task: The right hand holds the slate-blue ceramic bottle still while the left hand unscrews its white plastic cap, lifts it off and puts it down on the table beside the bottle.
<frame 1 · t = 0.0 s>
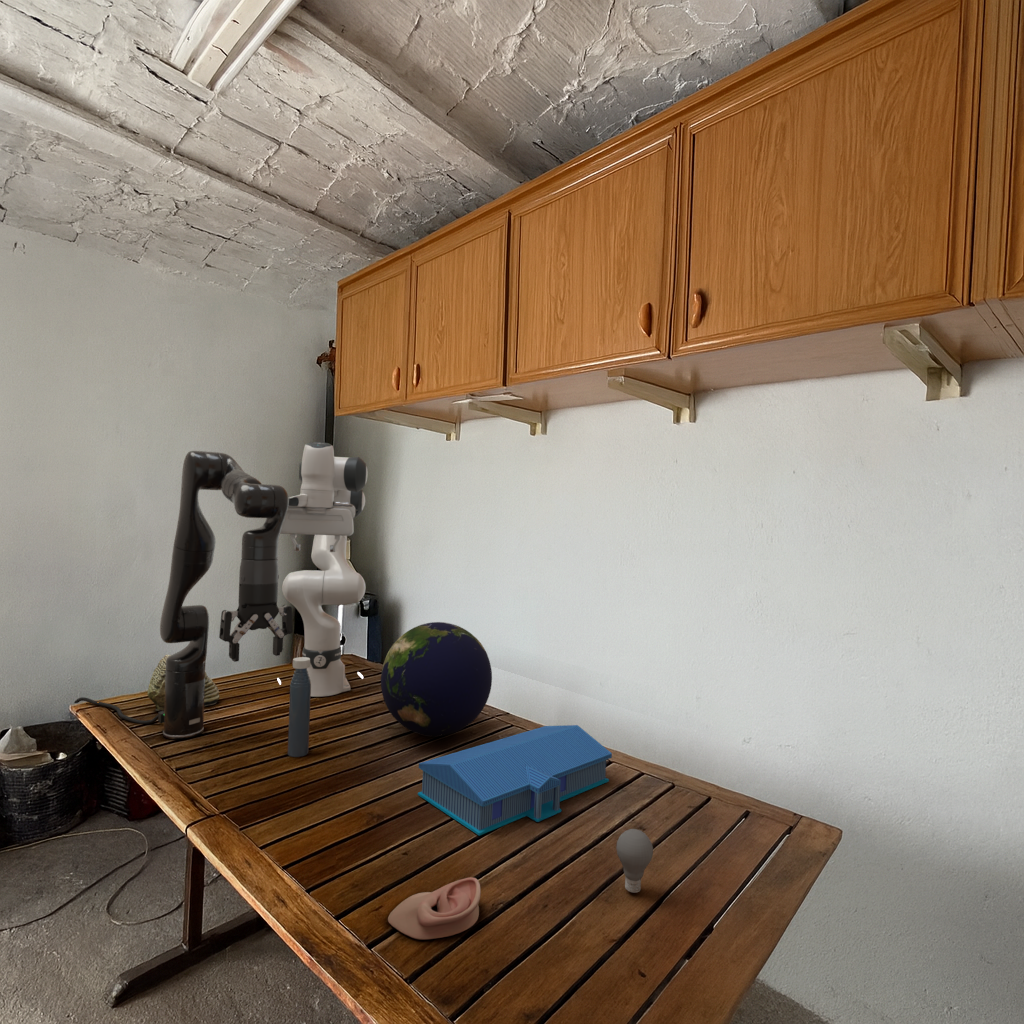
left hand: (256, 657, 132), 29 cm above the table, tool pointing down, fingers open, 8 cm apart
right hand: (315, 551, 174), 48 cm above the table, tool pointing down, fingers open, 8 cm apart
globe: (434, 733, 172), on the table
light bulb: (632, 891, 106), on the table
model building: (521, 790, 141), on the table
fossil: (183, 706, 185), on the table
bottle: (298, 753, 156), on the table
cap: (301, 660, 155), point 23 cm above the table, screwed on, not yet turned
anatomical model: (434, 916, 97), on the table
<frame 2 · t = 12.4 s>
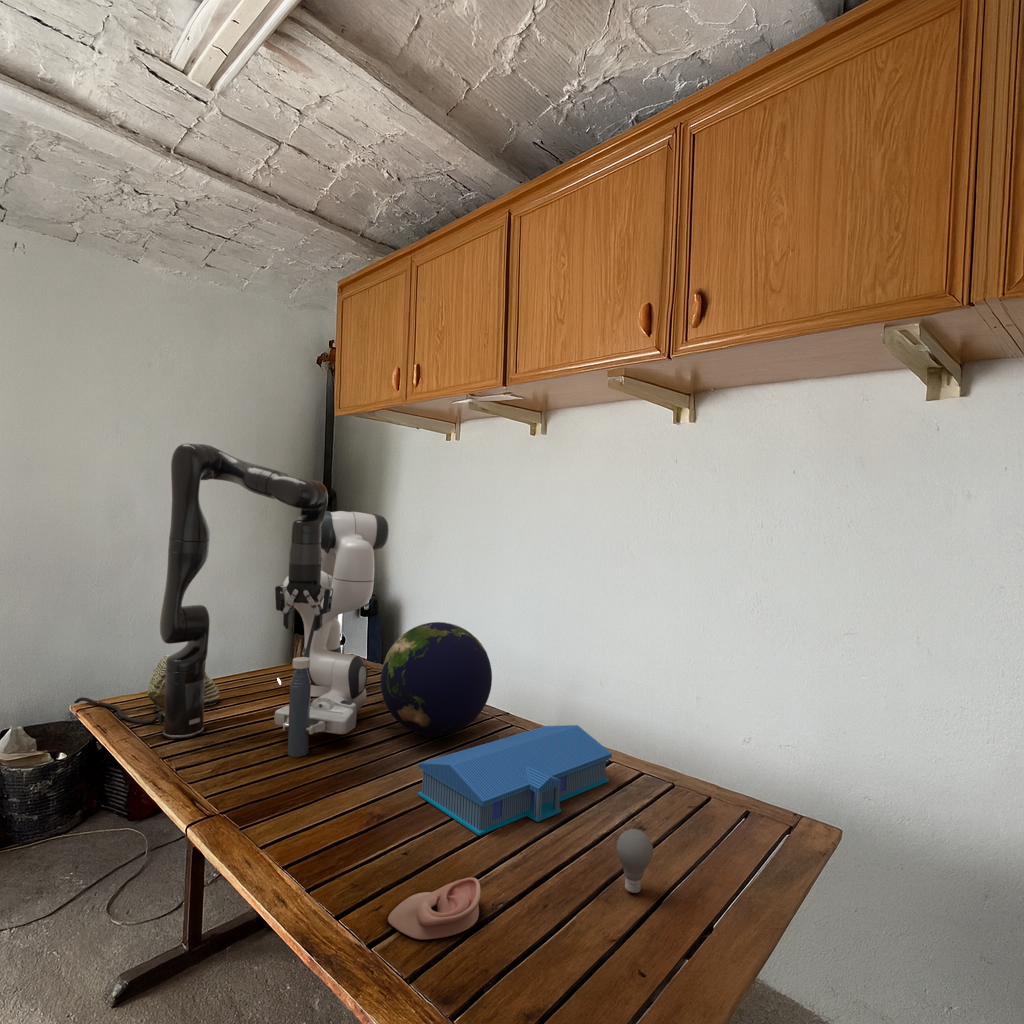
left hand: (302, 629, 155), 31 cm above the table, tool pointing down, fingers open, 6 cm apart
right hand: (296, 729, 155), 6 cm above the table, tool horizontal, fingers closed on bottle, 5 cm apart
bottle: (298, 753, 156), on the table, touching right hand
everything else where it was.
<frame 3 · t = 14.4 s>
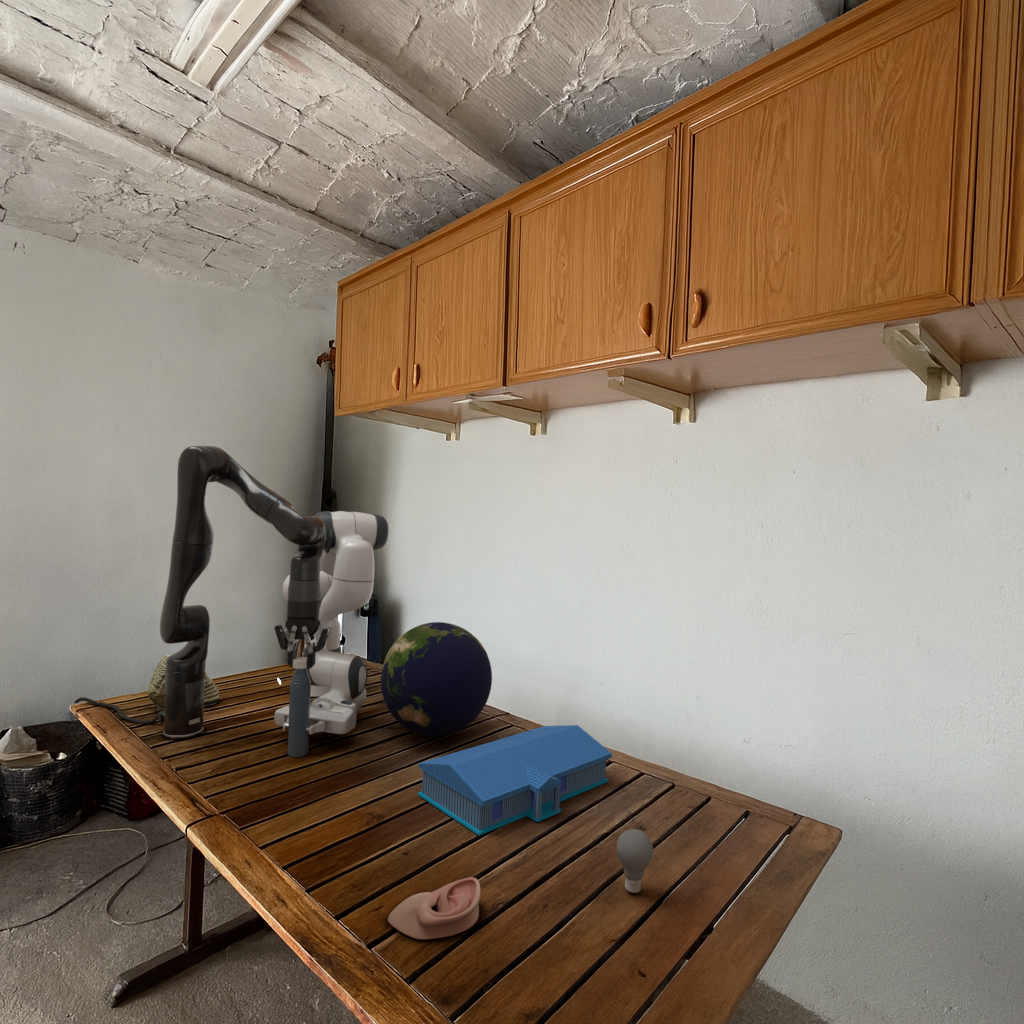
left hand: (301, 666, 155), 21 cm above the table, tool pointing down, fingers closed on cap, 3 cm apart
right hand: (296, 729, 155), 6 cm above the table, tool horizontal, fingers closed on bottle, 5 cm apart
bottle: (298, 753, 156), on the table, touching right hand
cap: (301, 660, 155), point 23 cm above the table, screwed on, not yet turned, touching left hand
everything else where it was.
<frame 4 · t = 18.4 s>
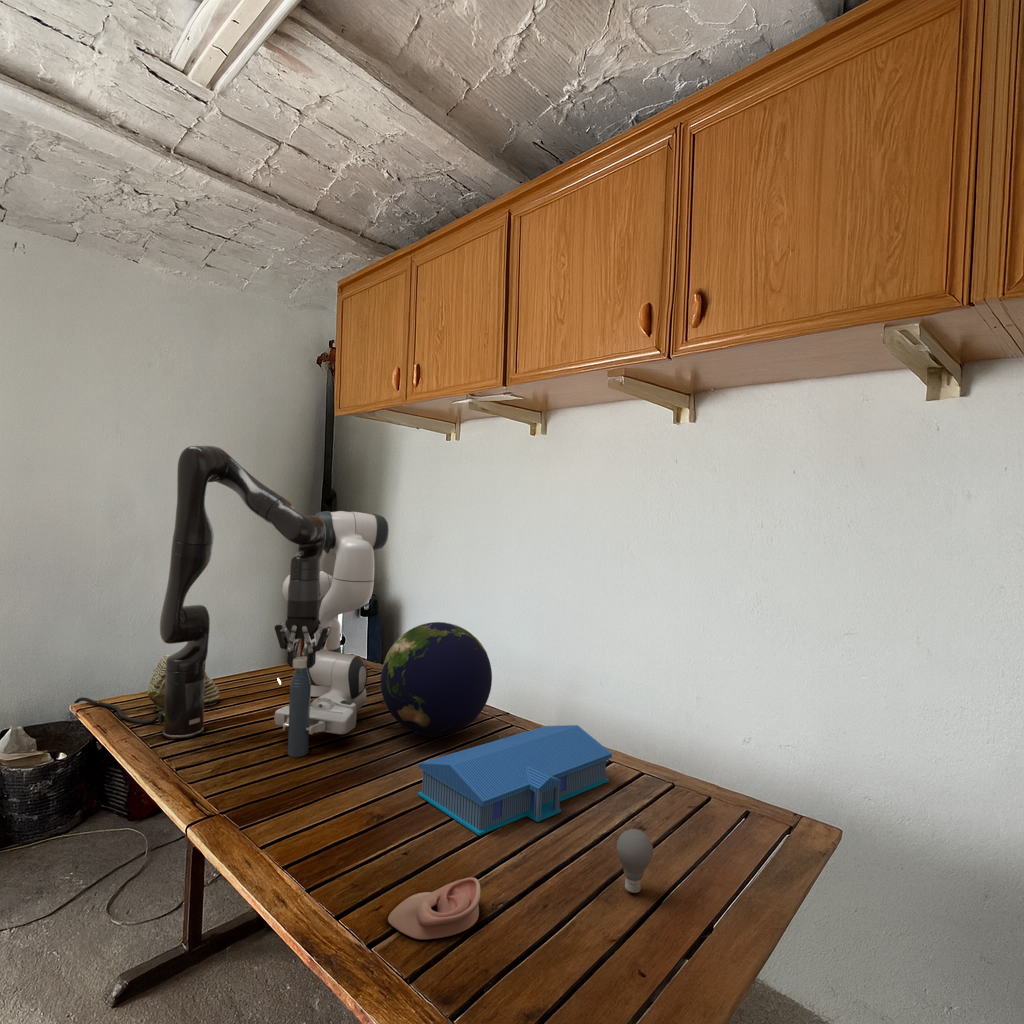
left hand: (301, 666, 155), 21 cm above the table, tool pointing down, fingers closed on cap, 3 cm apart
right hand: (297, 729, 155), 6 cm above the table, tool horizontal, fingers closed on bottle, 5 cm apart
bottle: (298, 753, 156), on the table, touching right hand
cap: (301, 659, 155), point 23 cm above the table, turned 96° so far, risen 0.1 cm, still on its thread, touching left hand
everything else where it was.
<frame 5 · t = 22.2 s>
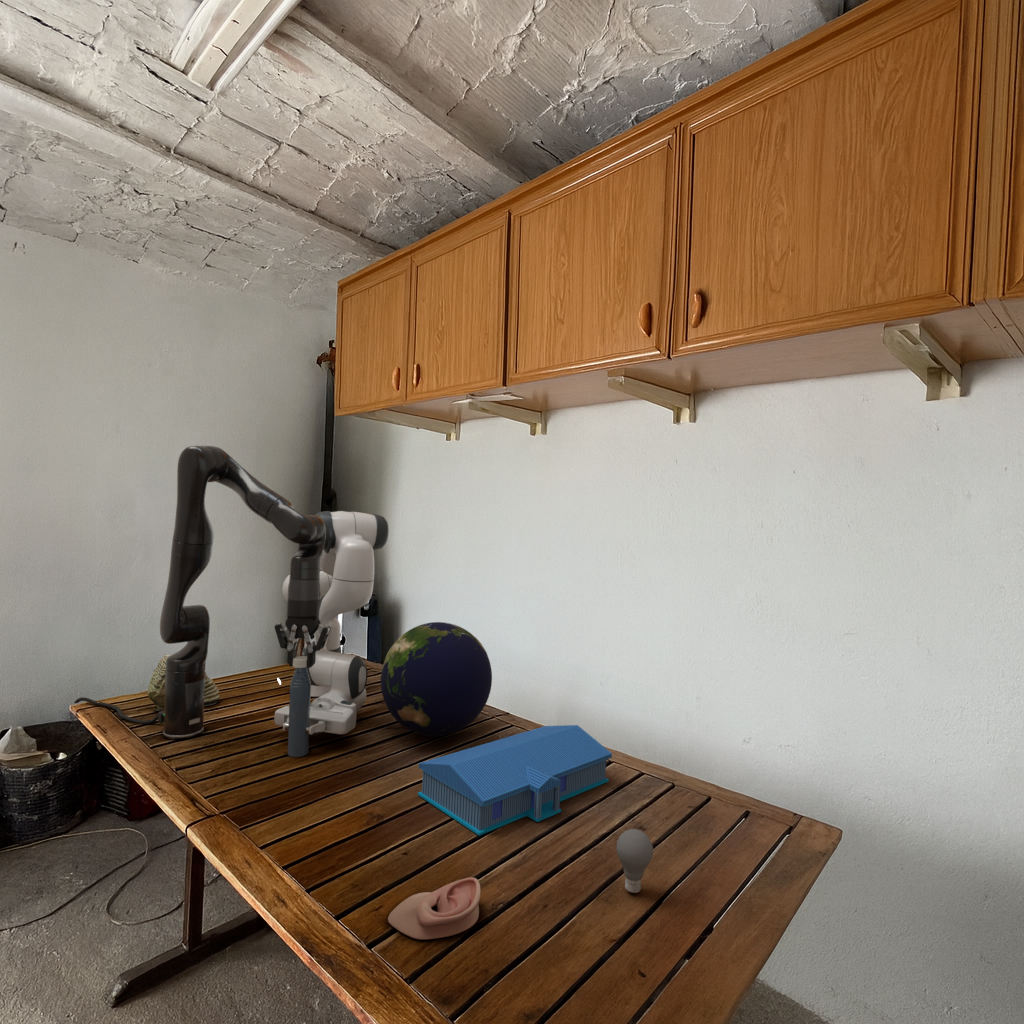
left hand: (301, 666, 155), 22 cm above the table, tool pointing down, fingers closed on cap, 3 cm apart
right hand: (296, 729, 155), 6 cm above the table, tool horizontal, fingers closed on bottle, 5 cm apart
bottle: (298, 753, 156), on the table, touching right hand
cap: (301, 659, 155), point 23 cm above the table, turned 191° so far, risen 0.2 cm, still on its thread, touching left hand
everything else where it was.
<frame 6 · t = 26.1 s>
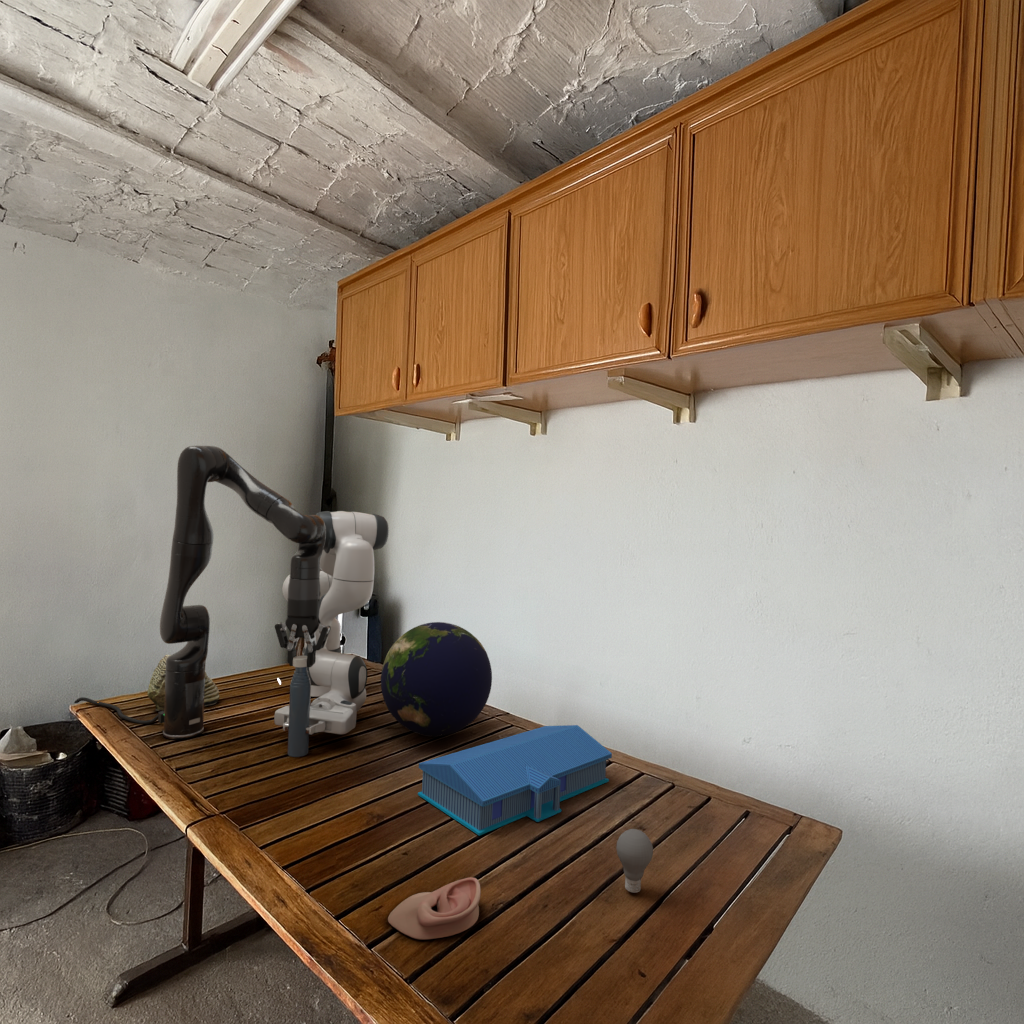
left hand: (301, 665, 155), 22 cm above the table, tool pointing down, fingers closed on cap, 3 cm apart
right hand: (296, 729, 155), 6 cm above the table, tool horizontal, fingers closed on bottle, 5 cm apart
bottle: (298, 753, 156), on the table, touching right hand
cap: (301, 658, 155), point 23 cm above the table, turned 287° so far, risen 0.3 cm, still on its thread, touching left hand
everything else where it was.
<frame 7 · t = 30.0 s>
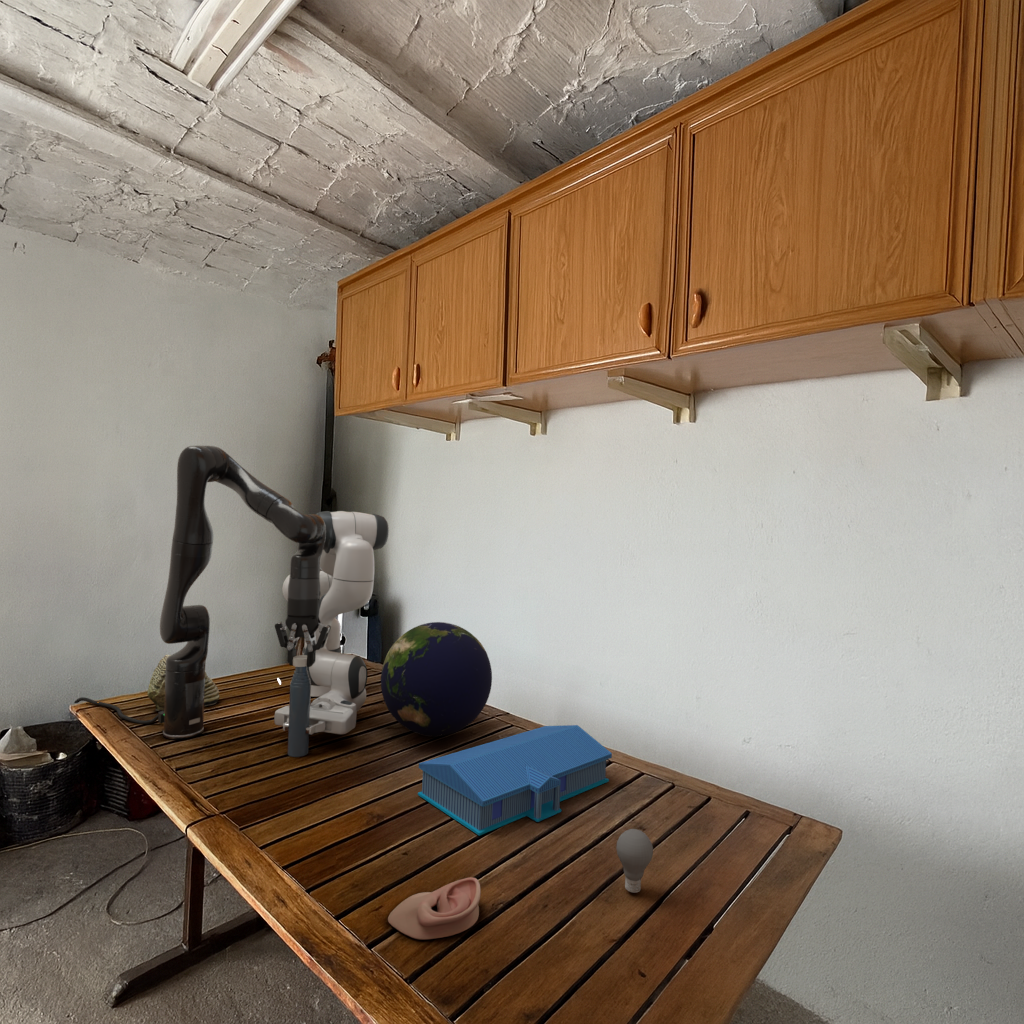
left hand: (301, 665, 155), 22 cm above the table, tool pointing down, fingers closed on cap, 3 cm apart
right hand: (296, 729, 155), 6 cm above the table, tool horizontal, fingers closed on bottle, 5 cm apart
bottle: (298, 752, 156), on the table, touching right hand
cap: (301, 658, 155), point 23 cm above the table, turned 383° so far, risen 0.5 cm, still on its thread, touching left hand
everything else where it was.
when the left hand's fingers open (1 cm above the table, at t = 37.0 s): cap drops 1 cm, point 2 cm above the table.
when the right hand's fingers open (6 cm above the table, at t = 38.1 s): bottle stays where it is, on the table.
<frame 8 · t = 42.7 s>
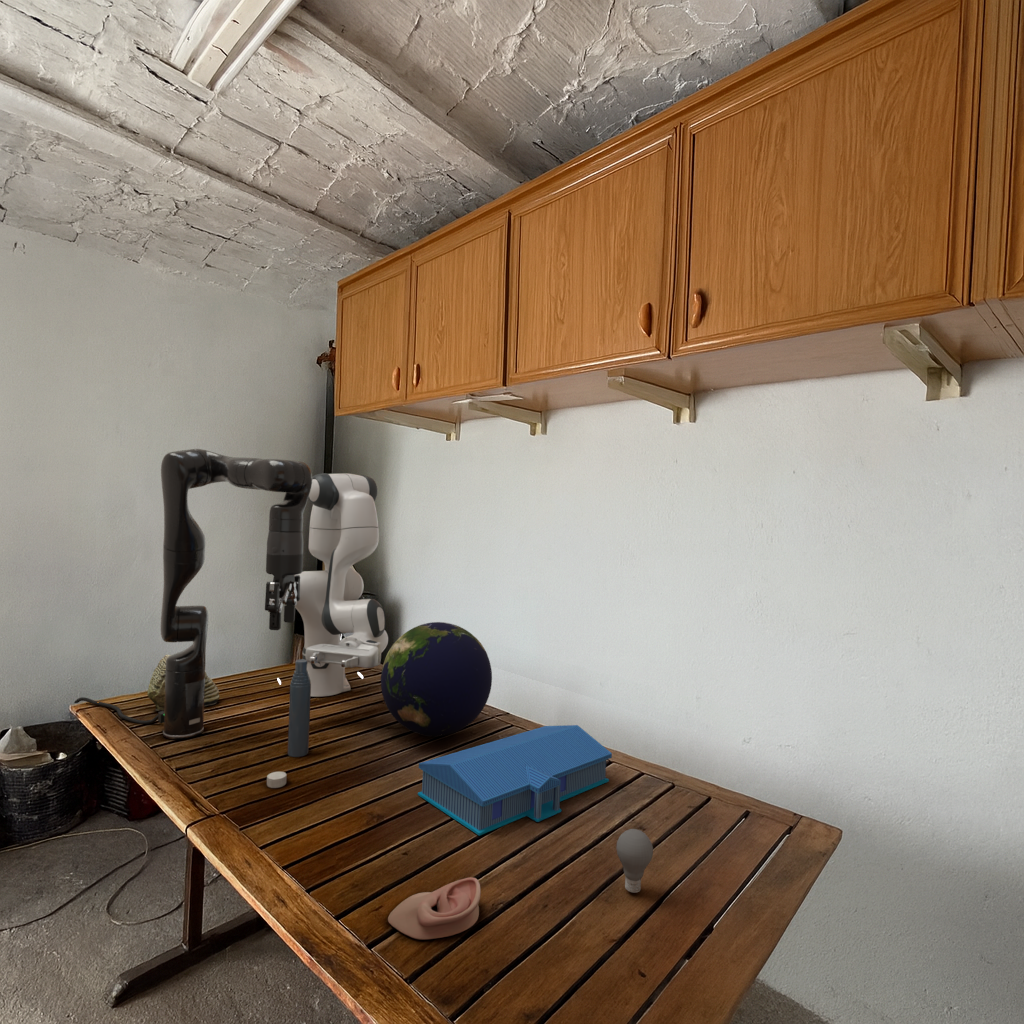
left hand: (282, 625, 138), 35 cm above the table, tool pointing down, fingers open, 8 cm apart
right hand: (327, 662, 167), 19 cm above the table, tool horizontal, fingers open, 8 cm apart
bottle: (298, 753, 156), on the table
cap: (276, 776, 139), point 2 cm above the table, off its thread
everything else where it was.
at the end: cap came off its thread; cap point 1.6 cm above the table; the left hand is holding nothing; the right hand is holding nothing; bottle tilted 0°; bottle moved 0.0 cm from its start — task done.
